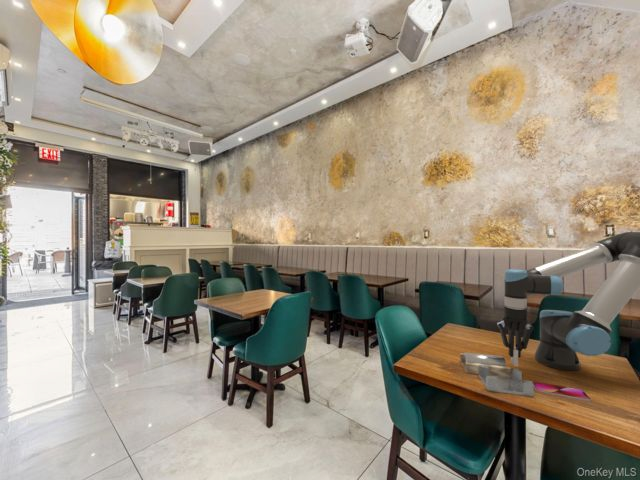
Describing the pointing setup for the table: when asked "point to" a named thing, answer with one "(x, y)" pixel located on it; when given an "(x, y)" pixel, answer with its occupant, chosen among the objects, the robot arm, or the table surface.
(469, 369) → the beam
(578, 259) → the robot arm
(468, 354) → the axle
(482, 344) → the table surface
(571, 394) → the smartphone
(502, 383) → the cradle
